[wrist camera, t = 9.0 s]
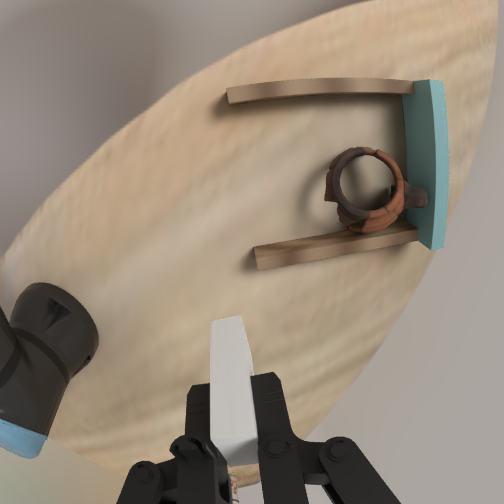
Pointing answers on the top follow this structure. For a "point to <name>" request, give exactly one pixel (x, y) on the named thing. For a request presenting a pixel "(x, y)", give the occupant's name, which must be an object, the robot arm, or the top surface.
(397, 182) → the pottery mug
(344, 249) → the channel
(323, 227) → the top surface
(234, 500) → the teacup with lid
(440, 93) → the end stop
